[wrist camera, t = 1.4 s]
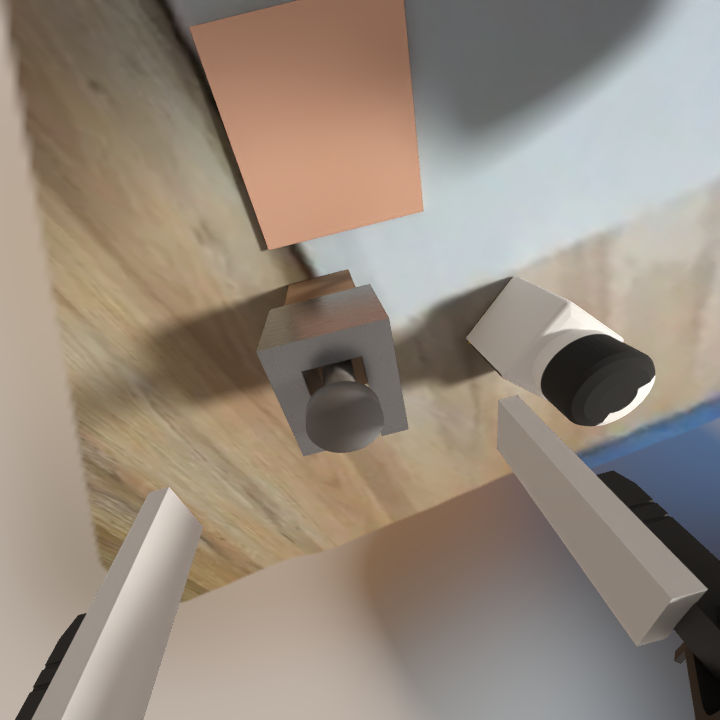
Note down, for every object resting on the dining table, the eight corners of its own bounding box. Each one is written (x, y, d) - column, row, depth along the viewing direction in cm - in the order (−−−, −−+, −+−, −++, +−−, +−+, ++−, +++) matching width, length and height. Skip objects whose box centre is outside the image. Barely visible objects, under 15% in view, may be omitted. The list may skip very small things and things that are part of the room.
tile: (398, -20, 17) (401, -26, 17) (421, 210, 24) (423, 211, 23) (192, 31, 17) (188, 26, 17) (269, 248, 23) (268, 250, 23)
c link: (269, 309, 21) (256, 351, 16) (369, 284, 21) (388, 317, 16) (305, 399, 25) (303, 456, 20) (388, 378, 25) (408, 429, 20)
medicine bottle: (463, 338, 30) (542, 420, 20) (513, 273, 27) (634, 330, 17) (513, 365, 32) (606, 450, 22) (563, 308, 30) (695, 375, 19)
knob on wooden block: (348, 269, 25) (379, 345, 13) (367, 351, 29) (403, 463, 18) (288, 284, 25) (269, 373, 13) (316, 364, 29) (319, 485, 18)
